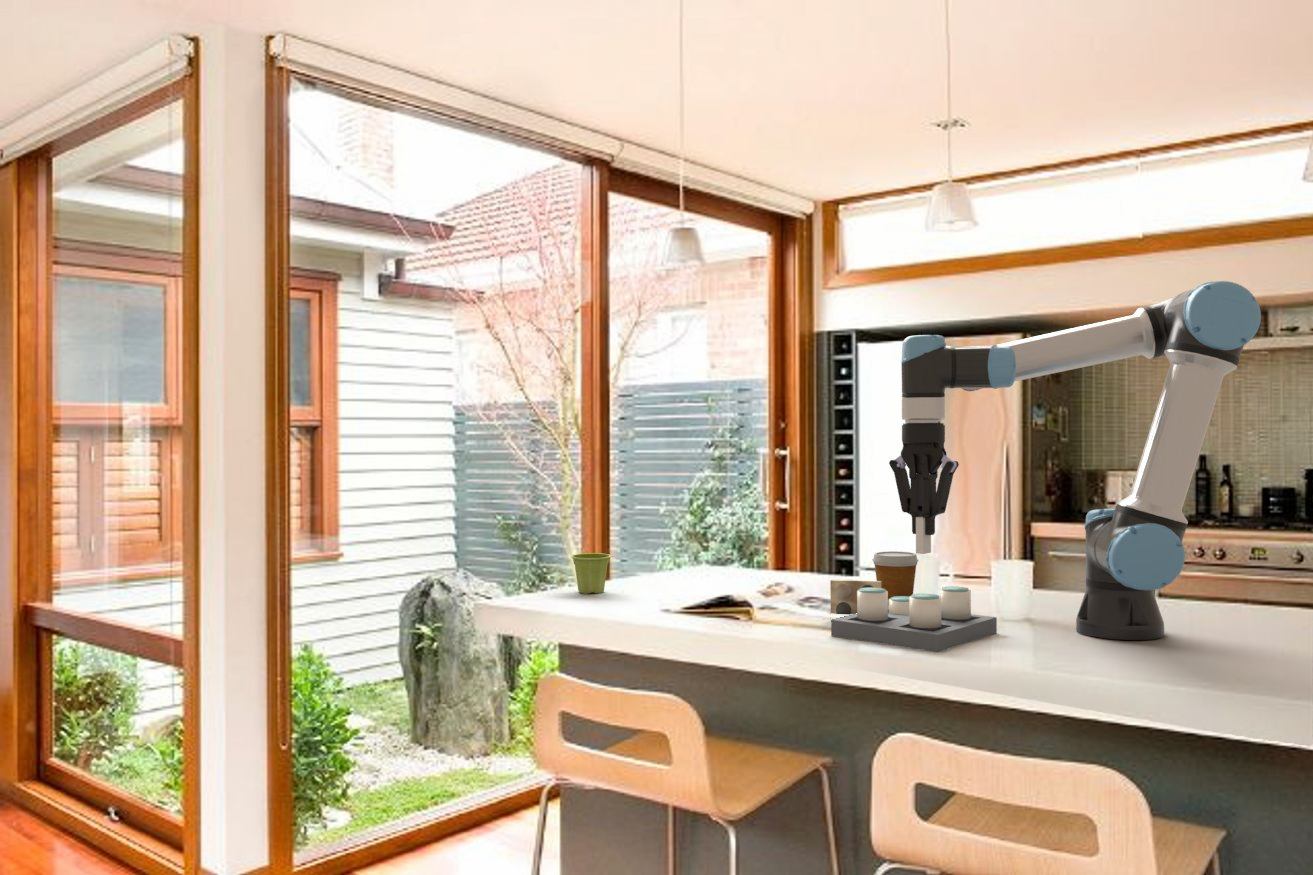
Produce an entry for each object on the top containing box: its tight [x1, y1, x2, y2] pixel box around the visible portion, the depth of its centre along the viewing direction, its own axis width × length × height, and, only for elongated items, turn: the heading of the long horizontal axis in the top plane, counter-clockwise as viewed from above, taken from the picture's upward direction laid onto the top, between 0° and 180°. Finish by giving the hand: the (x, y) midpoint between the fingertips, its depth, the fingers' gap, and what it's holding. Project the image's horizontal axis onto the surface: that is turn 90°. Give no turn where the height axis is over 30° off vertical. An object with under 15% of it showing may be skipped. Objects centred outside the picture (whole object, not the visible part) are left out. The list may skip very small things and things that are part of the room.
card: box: [829, 579, 881, 614], centre depth 217 cm, size 10×1×8 cm, turn 76°
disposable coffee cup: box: [871, 550, 919, 606], centre depth 228 cm, size 10×10×12 cm
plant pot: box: [571, 552, 612, 594], centre depth 257 cm, size 9×9×9 cm
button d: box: [857, 587, 888, 621], centre depth 202 cm, size 6×6×5 cm
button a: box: [939, 585, 972, 620], centre depth 202 cm, size 6×6×5 cm
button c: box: [909, 592, 942, 628], centre depth 194 cm, size 6×6×5 cm
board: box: [830, 606, 998, 653], centre depth 202 cm, size 22×22×3 cm
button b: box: [889, 596, 909, 616], centre depth 210 cm, size 6×6×5 cm
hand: (923, 552), depth 194 cm, fingers closed
